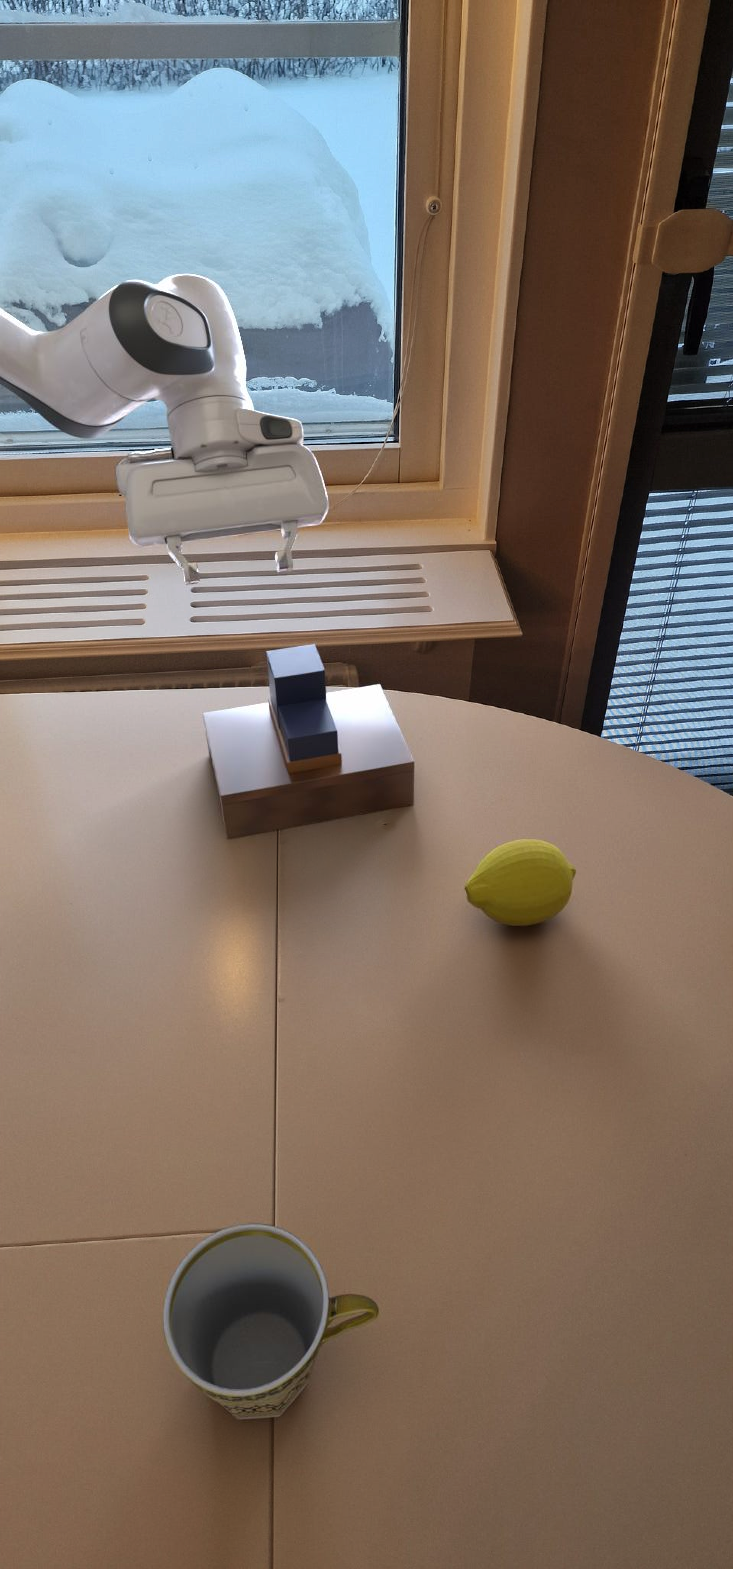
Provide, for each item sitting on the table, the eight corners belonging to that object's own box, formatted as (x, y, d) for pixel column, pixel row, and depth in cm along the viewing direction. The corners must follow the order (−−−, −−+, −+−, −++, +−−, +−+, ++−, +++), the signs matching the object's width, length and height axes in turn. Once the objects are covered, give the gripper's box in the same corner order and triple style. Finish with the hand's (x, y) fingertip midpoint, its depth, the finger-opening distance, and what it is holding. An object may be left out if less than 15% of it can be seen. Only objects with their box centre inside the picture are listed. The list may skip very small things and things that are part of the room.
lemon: (560, 874, 102) (569, 815, 96) (584, 935, 96) (596, 875, 91) (452, 888, 101) (455, 829, 95) (470, 950, 95) (475, 891, 90)
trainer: (341, 764, 106) (339, 701, 100) (288, 774, 105) (282, 711, 99) (319, 701, 114) (315, 640, 108) (269, 710, 113) (263, 648, 107)
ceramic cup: (178, 1456, 65) (154, 1400, 58) (190, 1292, 72) (170, 1226, 66) (384, 1443, 65) (383, 1386, 59) (375, 1282, 73) (373, 1215, 66)
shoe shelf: (226, 839, 106) (220, 796, 102) (208, 755, 117) (202, 712, 113) (413, 804, 110) (414, 761, 106) (380, 725, 120) (380, 683, 116)
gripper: (109, 442, 100) (133, 581, 99) (316, 419, 103) (341, 554, 103) (113, 467, 106) (136, 598, 105) (309, 445, 110) (333, 572, 109)
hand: (239, 576), depth 104 cm, fingers open, 8 cm apart
